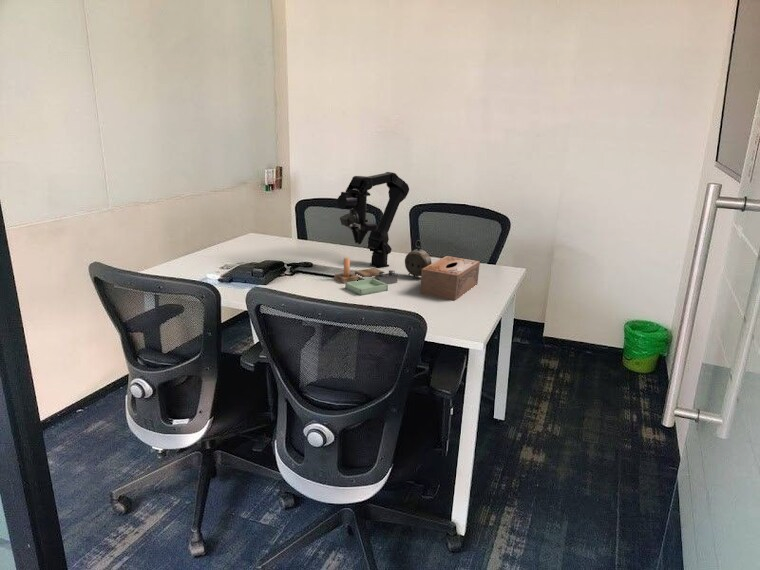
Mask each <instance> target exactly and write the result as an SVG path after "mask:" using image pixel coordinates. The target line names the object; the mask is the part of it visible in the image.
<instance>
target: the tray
mask: <svg viewBox="0 0 760 570" xmlns="http://www.w3.org/2000/svg"><path fill="white" fill-rule="evenodd" d="M388 288H389V284H385V283H383V282H381V281H378V280H376V279H375V278H370V279H364V280H363V279H358V281H352V282H346V283H345V290H347V291H350V292H351V293H354V294H356V295H358V296H359V297H360V296H365V295H371V294H376V293H377V294H378V293H382V292H387V291H389V290H388Z"/></svg>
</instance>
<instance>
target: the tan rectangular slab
mask: <svg viewBox="0 0 760 570" xmlns="http://www.w3.org/2000/svg"><path fill="white" fill-rule="evenodd" d="M379 272H384V271H383V270H380V269H378V268H376V267H373V268H371V267H370V268H367V269H366V268H365V269H358V270H355V271H354V275H355V274H358V275H360V276H362V277H372V276H375V275H379Z"/></svg>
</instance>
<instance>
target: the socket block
mask: <svg viewBox="0 0 760 570" xmlns="http://www.w3.org/2000/svg"><path fill="white" fill-rule="evenodd" d="M343 273H344V272H343ZM343 273H337V274H336V273H335V274H333V276H334V277H333V278H334V280H335V281H337V282H339V283H342V284H343V285H344V284H345V283H346V282H352V281H357V280H359V277H358V276H356V275H355V273H354V274H353V273H351V272H349V277H343Z"/></svg>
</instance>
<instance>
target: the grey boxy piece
mask: <svg viewBox="0 0 760 570" xmlns="http://www.w3.org/2000/svg"><path fill="white" fill-rule="evenodd" d="M398 276H399V275H398V273H396V272H395V270H388V273H386V272H385V271H383V272H379V275H375V278H374V279H376V280H378V281H381V282H383V283H385V284H388V285H392V284H397V283H398Z"/></svg>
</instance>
